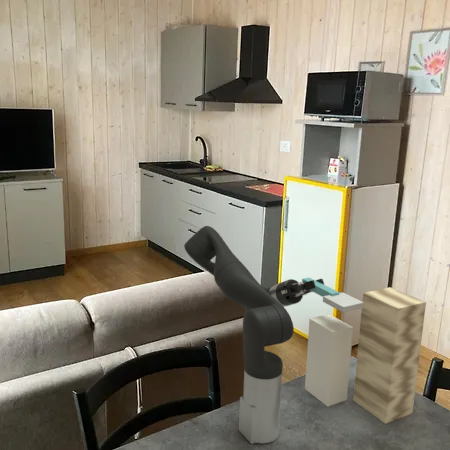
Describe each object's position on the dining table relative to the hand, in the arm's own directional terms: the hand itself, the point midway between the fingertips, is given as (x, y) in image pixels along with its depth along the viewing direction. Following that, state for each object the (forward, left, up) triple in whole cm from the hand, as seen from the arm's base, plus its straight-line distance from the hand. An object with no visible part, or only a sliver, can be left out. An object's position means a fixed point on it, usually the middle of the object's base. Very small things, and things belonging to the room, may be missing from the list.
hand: (318, 283), depth 141 cm
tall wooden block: (+10, -18, -31) cm, 38 cm away
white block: (0, -6, -31) cm, 32 cm away
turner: (0, -4, -3) cm, 5 cm away
